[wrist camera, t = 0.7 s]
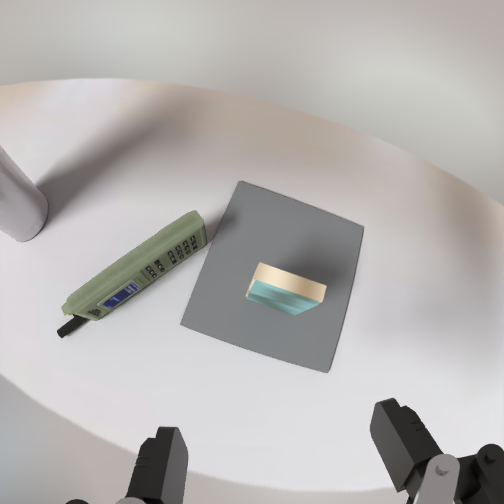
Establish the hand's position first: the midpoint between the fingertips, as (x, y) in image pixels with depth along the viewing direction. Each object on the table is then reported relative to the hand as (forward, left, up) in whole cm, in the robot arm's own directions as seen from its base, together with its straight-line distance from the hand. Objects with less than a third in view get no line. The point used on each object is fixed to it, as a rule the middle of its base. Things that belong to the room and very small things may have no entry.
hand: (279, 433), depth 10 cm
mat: (+1, +14, -26) cm, 29 cm away
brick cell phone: (-18, +5, -26) cm, 32 cm away
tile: (+1, +10, -25) cm, 27 cm away
